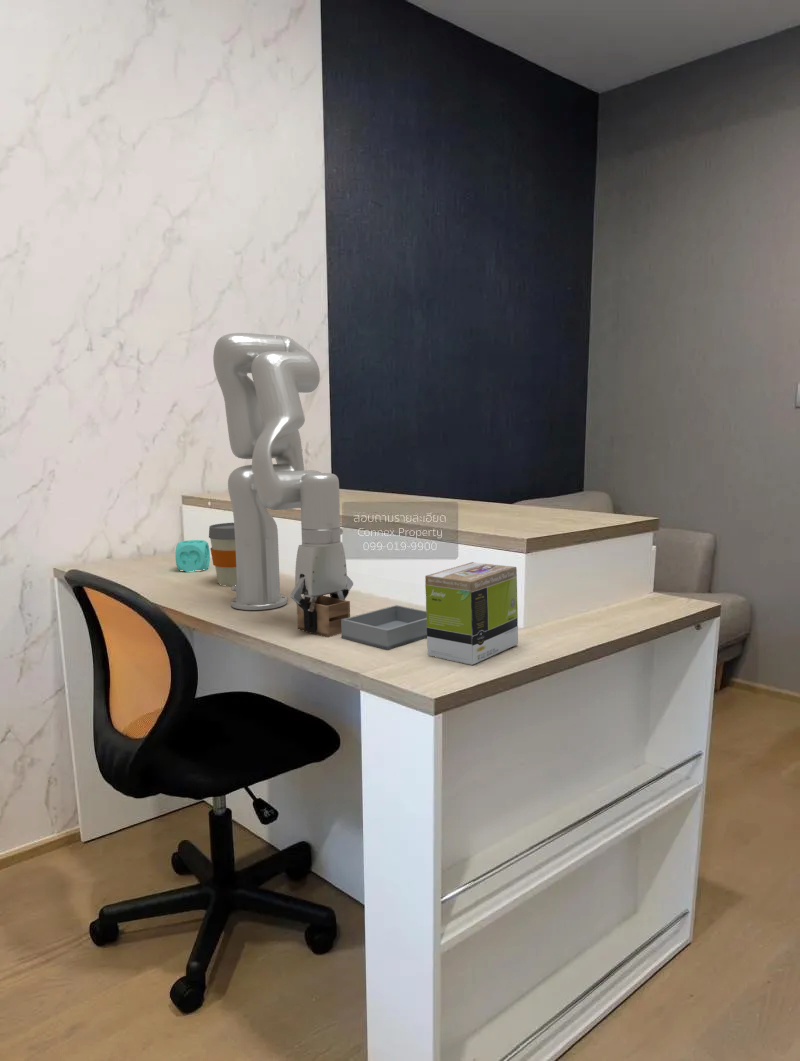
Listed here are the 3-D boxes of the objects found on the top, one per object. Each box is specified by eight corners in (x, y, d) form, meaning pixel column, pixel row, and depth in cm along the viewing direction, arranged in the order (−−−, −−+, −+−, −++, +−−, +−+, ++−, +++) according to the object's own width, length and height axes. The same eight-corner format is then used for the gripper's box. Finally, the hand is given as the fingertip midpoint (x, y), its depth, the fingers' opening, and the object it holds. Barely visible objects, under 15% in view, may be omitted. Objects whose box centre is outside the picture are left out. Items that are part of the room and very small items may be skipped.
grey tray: (341, 637, 146) (341, 619, 146) (396, 622, 157) (396, 605, 157) (387, 650, 138) (387, 630, 138) (442, 632, 149) (442, 614, 148)
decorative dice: (182, 567, 223) (181, 540, 222) (210, 566, 223) (209, 539, 222) (176, 572, 215) (174, 544, 214) (205, 572, 215) (203, 543, 214)
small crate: (297, 629, 153) (296, 599, 152) (320, 623, 157) (319, 594, 157) (327, 637, 147) (326, 606, 146) (350, 630, 151) (349, 601, 150)
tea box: (473, 637, 146) (473, 560, 144) (519, 646, 139) (519, 565, 137) (425, 656, 134) (423, 573, 132) (472, 667, 128) (472, 579, 126)
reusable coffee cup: (266, 577, 205) (263, 522, 203) (252, 587, 193) (249, 528, 191) (220, 577, 207) (217, 522, 205) (204, 587, 194) (200, 528, 192)
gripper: (341, 530, 158) (343, 615, 161) (273, 540, 146) (277, 632, 148) (366, 533, 153) (368, 621, 156) (298, 544, 141) (302, 639, 143)
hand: (323, 625), depth 152 cm, fingers closed on small crate, 6 cm apart
